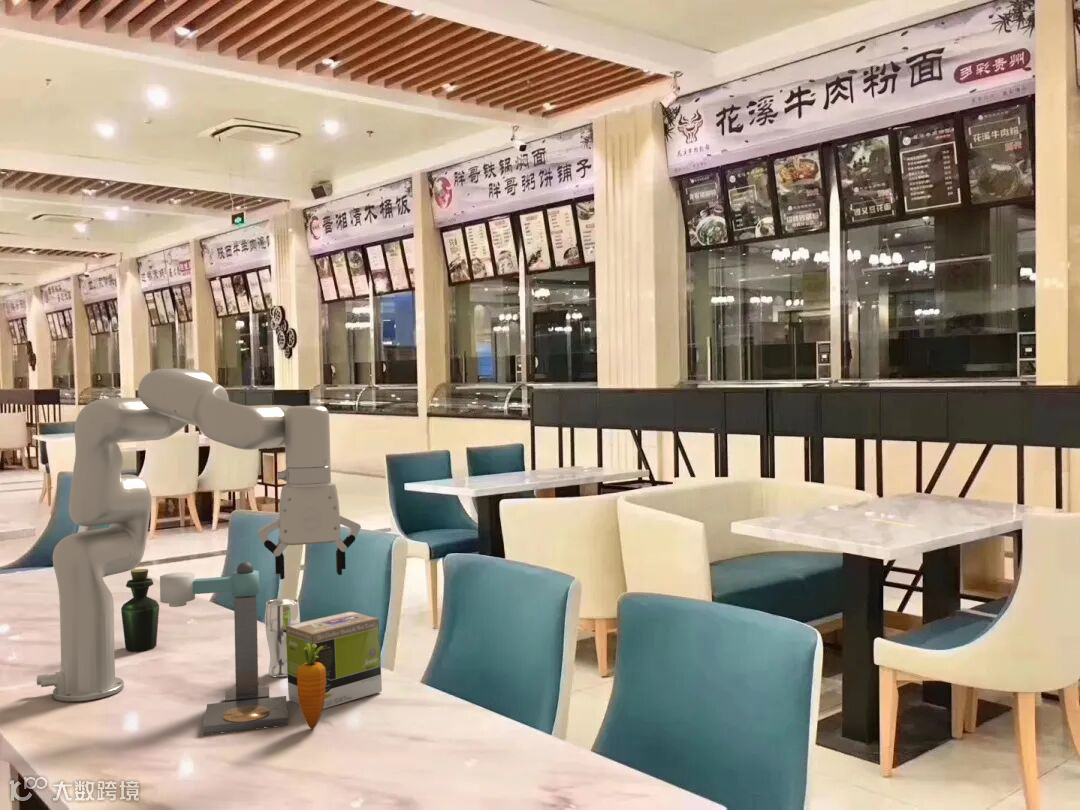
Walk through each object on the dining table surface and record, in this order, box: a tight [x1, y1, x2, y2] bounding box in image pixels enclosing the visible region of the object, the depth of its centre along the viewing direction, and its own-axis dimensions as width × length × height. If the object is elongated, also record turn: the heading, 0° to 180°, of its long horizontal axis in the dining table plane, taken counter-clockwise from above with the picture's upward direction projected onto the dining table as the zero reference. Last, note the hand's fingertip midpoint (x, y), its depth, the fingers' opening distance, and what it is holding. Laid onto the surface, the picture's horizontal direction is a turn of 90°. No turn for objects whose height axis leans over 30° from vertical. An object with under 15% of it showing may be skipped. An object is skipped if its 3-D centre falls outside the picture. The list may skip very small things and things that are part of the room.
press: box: [202, 594, 289, 735], centre depth 170 cm, size 14×19×20 cm
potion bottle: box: [120, 568, 160, 653], centre depth 215 cm, size 8×8×18 cm
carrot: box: [297, 643, 326, 730], centre depth 161 cm, size 5×5×15 cm
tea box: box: [286, 610, 383, 710], centre depth 178 cm, size 15×10×15 cm, turn 134°
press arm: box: [159, 561, 260, 608], centre depth 174 cm, size 18×6×7 cm, turn 107°
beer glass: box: [264, 597, 301, 678], centre depth 194 cm, size 7×7×15 cm
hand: (310, 575), depth 161 cm, fingers open, 9 cm apart
